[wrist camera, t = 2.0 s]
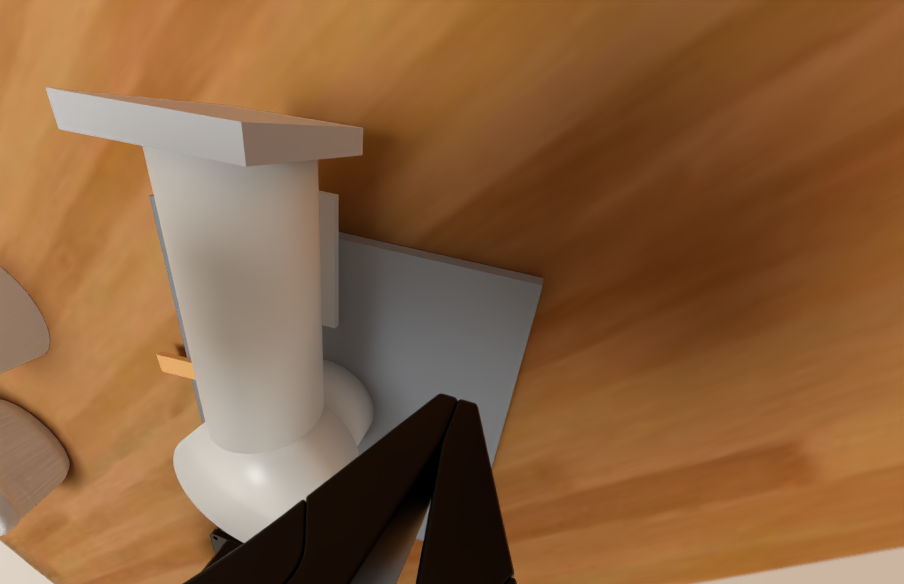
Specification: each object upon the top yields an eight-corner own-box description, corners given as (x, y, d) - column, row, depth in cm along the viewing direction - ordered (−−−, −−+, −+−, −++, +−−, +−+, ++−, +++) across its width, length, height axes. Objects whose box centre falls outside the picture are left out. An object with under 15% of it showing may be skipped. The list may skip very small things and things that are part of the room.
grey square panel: (469, 543, 22) (456, 605, 19) (199, 444, 25) (154, 484, 22) (555, 233, 13) (556, 261, 10) (125, 146, 16) (35, 148, 13)
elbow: (367, 486, 18) (310, 595, 14) (259, 447, 19) (174, 537, 15) (387, 131, 11) (278, 128, 6) (210, 102, 12) (16, 82, 7)
